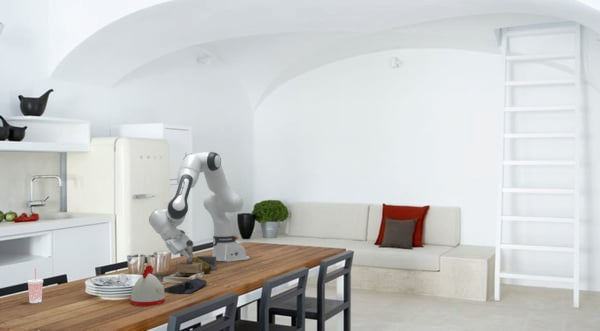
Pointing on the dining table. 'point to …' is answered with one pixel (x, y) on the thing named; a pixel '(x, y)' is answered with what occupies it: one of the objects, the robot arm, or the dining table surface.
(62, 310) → the dining table surface
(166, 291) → the dark slate chunk
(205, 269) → the olive green rounded lump
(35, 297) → the beverage cup
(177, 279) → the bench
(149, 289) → the grey and red dome
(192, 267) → the wooden knobbed block
